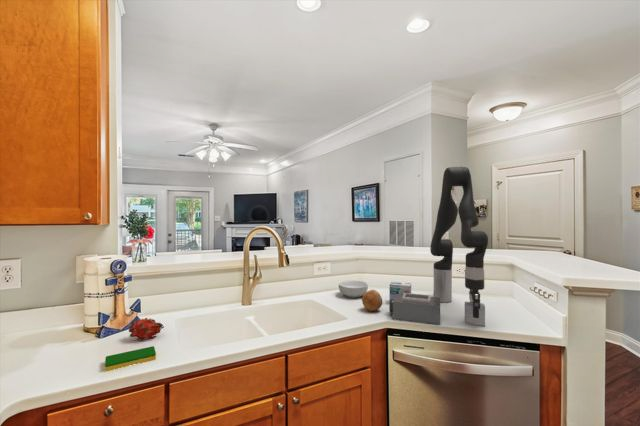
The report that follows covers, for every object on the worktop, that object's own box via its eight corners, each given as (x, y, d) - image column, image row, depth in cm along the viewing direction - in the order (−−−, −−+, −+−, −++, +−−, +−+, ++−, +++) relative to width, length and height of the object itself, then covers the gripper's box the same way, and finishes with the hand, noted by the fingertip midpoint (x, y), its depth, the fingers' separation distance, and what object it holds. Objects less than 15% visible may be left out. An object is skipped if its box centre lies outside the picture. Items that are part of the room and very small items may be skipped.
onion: (362, 306, 156) (362, 287, 156) (382, 308, 154) (382, 288, 154) (361, 313, 146) (361, 292, 146) (382, 314, 144) (382, 293, 144)
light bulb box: (389, 304, 160) (389, 283, 160) (391, 300, 166) (391, 281, 166) (410, 306, 156) (410, 285, 156) (411, 303, 162) (411, 282, 162)
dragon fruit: (126, 344, 116) (161, 344, 120) (124, 338, 110) (160, 338, 114) (132, 321, 121) (165, 322, 125) (130, 314, 115) (165, 315, 119)
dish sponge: (105, 363, 99) (105, 356, 99) (153, 352, 107) (153, 345, 107) (105, 373, 93) (105, 365, 93) (156, 361, 101) (156, 353, 101)
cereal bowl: (336, 292, 183) (336, 280, 183) (363, 291, 185) (363, 279, 185) (341, 300, 167) (341, 287, 166) (371, 299, 168) (371, 286, 168)
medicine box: (484, 323, 133) (484, 303, 133) (485, 326, 129) (485, 306, 129) (464, 320, 136) (464, 301, 136) (464, 323, 132) (464, 303, 132)
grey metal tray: (392, 309, 152) (392, 290, 152) (439, 314, 144) (439, 294, 144) (388, 318, 139) (388, 297, 138) (440, 324, 131) (440, 302, 131)
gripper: (463, 273, 140) (463, 308, 140) (466, 279, 127) (466, 318, 127) (481, 274, 138) (481, 310, 138) (487, 281, 124) (487, 321, 124)
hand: (474, 314), depth 132 cm, fingers open, 8 cm apart
